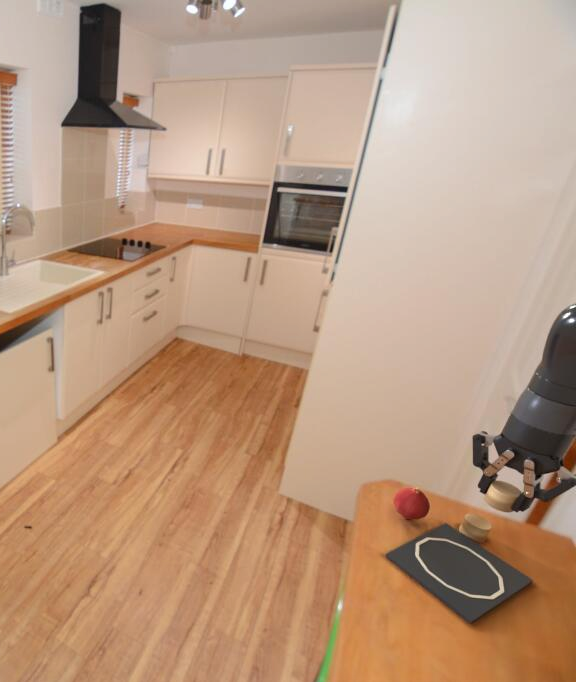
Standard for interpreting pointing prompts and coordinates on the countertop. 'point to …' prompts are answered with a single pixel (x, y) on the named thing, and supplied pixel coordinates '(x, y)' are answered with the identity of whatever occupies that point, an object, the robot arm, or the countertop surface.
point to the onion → (411, 503)
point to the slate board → (459, 571)
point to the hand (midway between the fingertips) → (500, 500)
